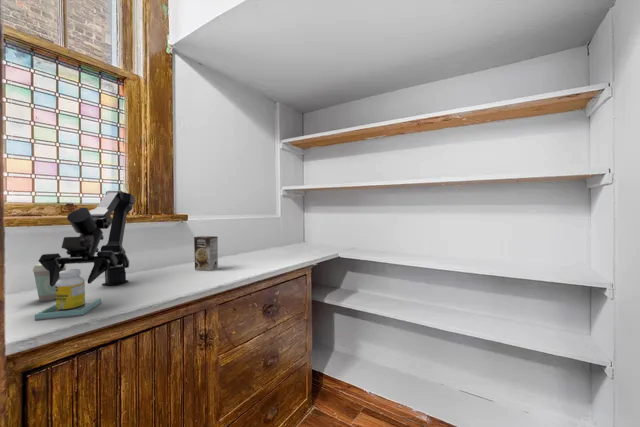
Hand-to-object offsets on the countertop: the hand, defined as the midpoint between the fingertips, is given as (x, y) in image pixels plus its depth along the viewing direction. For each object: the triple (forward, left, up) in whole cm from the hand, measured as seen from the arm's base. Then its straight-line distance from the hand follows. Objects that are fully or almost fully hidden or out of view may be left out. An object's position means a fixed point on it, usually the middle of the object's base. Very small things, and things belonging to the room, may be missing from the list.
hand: (70, 284), depth 84 cm
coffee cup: (-19, +9, -8) cm, 23 cm away
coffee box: (+10, +56, -8) cm, 58 cm away
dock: (0, 0, -8) cm, 8 cm away
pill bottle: (0, 0, -8) cm, 8 cm away
